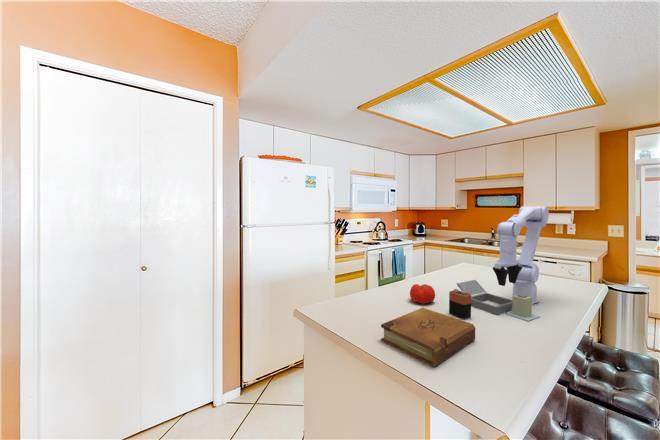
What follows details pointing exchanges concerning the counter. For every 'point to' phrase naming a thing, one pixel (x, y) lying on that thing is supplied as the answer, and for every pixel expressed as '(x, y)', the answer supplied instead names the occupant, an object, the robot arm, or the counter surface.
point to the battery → (460, 304)
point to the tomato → (422, 293)
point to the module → (522, 305)
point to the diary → (428, 335)
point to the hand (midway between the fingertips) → (507, 284)
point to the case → (485, 298)
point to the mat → (523, 317)
